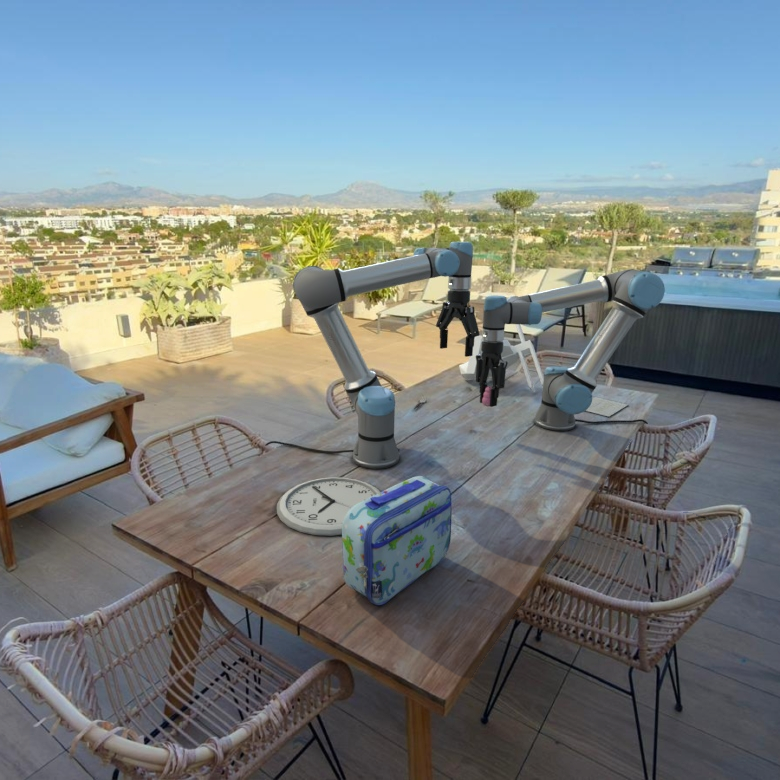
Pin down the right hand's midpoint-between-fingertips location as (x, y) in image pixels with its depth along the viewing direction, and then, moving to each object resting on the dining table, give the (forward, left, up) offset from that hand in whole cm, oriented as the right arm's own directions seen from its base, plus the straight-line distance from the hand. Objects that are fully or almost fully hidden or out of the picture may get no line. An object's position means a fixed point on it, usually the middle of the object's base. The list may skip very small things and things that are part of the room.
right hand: (488, 403), depth 189 cm
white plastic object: (-9, -64, -12) cm, 66 cm away
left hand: (+13, +5, +20) cm, 24 cm away
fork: (+27, -30, -12) cm, 42 cm away
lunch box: (+24, +86, -12) cm, 90 cm away
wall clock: (+45, +58, -12) cm, 74 cm away
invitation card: (-52, -41, -12) cm, 67 cm away
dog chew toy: (0, 0, -1) cm, 1 cm away
